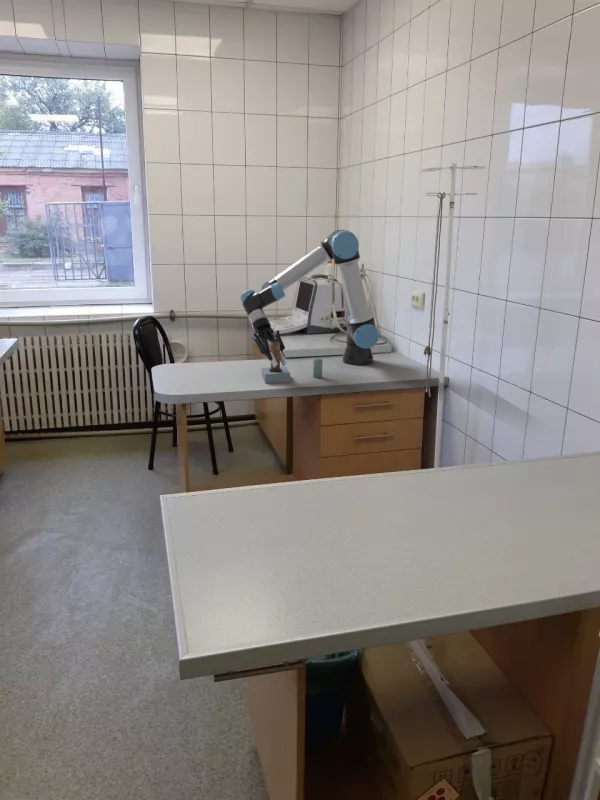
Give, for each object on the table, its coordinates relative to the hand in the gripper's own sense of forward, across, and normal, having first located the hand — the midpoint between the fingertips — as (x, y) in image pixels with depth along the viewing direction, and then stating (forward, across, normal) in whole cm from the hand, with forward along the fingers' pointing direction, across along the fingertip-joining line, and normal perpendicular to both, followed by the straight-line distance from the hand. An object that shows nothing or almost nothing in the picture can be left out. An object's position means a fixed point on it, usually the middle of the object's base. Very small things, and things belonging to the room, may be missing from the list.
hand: (280, 365), depth 269 cm
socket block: (+3, 0, -8) cm, 8 cm away
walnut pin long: (+1, 0, -6) cm, 6 cm away
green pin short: (+8, -18, -2) cm, 19 cm away
